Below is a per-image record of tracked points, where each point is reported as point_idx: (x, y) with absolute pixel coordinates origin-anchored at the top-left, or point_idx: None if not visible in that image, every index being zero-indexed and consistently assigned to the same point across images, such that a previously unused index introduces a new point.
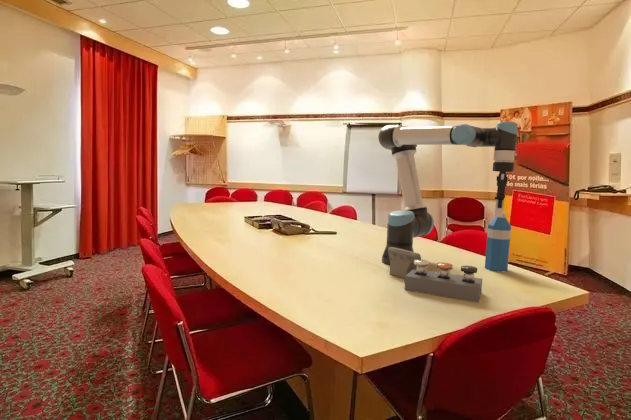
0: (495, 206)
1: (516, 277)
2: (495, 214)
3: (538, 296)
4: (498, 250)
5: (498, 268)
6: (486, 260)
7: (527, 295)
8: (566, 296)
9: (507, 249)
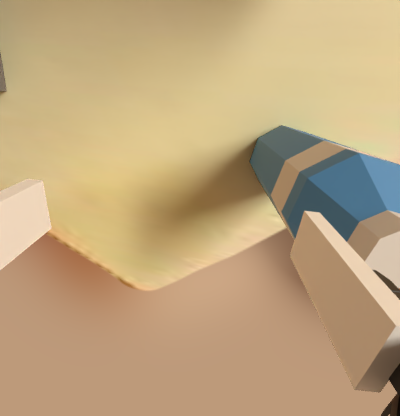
0: (326, 240)
1: (204, 196)
2: (19, 187)
3: (64, 211)
4: (263, 173)
5: (251, 162)
6: (282, 131)
7: (57, 192)
8: (98, 258)
9: (273, 204)
